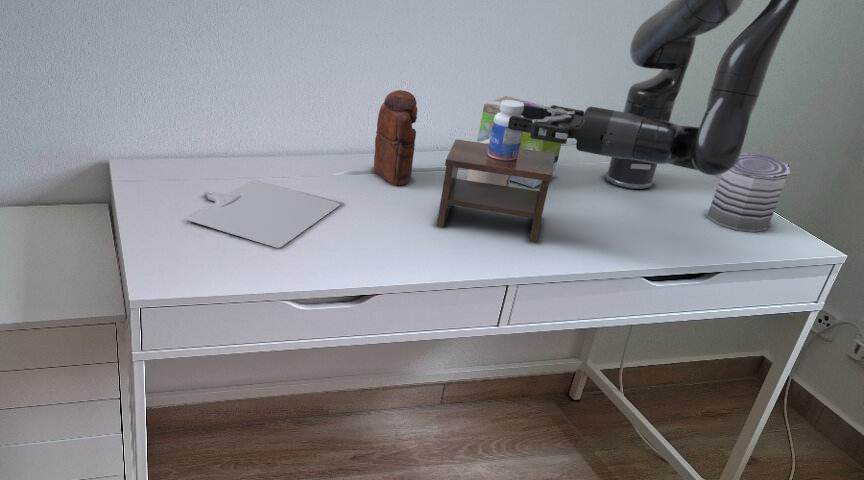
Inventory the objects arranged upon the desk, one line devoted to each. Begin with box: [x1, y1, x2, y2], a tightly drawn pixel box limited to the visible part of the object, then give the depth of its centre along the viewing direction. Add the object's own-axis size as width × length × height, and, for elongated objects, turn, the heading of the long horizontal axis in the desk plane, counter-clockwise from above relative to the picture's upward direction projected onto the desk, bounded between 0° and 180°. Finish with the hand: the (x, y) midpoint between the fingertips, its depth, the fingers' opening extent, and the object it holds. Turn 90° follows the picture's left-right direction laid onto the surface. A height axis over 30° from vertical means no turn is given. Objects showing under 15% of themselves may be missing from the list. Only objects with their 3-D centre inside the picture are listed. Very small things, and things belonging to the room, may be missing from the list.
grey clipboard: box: [186, 180, 341, 249], centre depth 163 cm, size 25×24×1 cm
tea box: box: [476, 95, 562, 189], centre depth 184 cm, size 15×10×15 cm
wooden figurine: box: [373, 89, 418, 186], centre depth 179 cm, size 12×6×18 cm, turn 21°
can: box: [707, 152, 791, 233], centre depth 167 cm, size 11×11×12 cm
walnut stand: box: [436, 138, 555, 243], centre depth 160 cm, size 13×18×13 cm
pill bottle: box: [488, 100, 524, 161], centre depth 155 cm, size 6×5×10 cm
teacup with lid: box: [465, 139, 511, 187], centre depth 176 cm, size 12×9×12 cm
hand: (515, 116), depth 153 cm, fingers open, 8 cm apart
